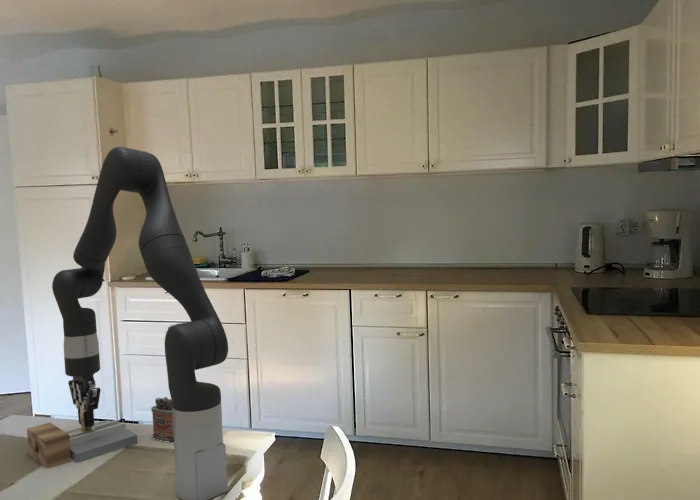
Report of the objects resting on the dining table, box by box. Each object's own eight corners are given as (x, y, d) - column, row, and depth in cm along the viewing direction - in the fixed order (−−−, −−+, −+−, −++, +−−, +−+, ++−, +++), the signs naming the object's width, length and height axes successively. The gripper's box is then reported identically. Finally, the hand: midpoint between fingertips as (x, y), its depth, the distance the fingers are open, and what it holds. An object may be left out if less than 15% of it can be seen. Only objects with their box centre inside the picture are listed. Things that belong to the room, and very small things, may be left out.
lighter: (149, 438, 141) (147, 398, 140) (160, 433, 144) (157, 394, 143) (174, 443, 137) (171, 402, 136) (184, 438, 140) (182, 398, 139)
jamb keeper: (71, 460, 129) (69, 434, 129) (47, 468, 126) (45, 441, 125) (51, 447, 138) (50, 422, 137) (28, 453, 134) (26, 428, 134)
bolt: (95, 435, 138) (93, 404, 137) (55, 447, 131) (53, 414, 131) (91, 433, 139) (89, 402, 139) (52, 444, 133) (49, 412, 133)
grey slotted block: (137, 443, 138) (136, 428, 138) (77, 462, 128) (76, 447, 128) (108, 427, 149) (107, 414, 149) (50, 444, 139) (49, 430, 139)
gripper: (110, 354, 134) (114, 427, 135) (86, 345, 144) (90, 414, 145) (76, 360, 129) (81, 437, 130) (54, 351, 138) (59, 422, 140)
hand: (86, 424), depth 137 cm, fingers closed on bolt, 2 cm apart
